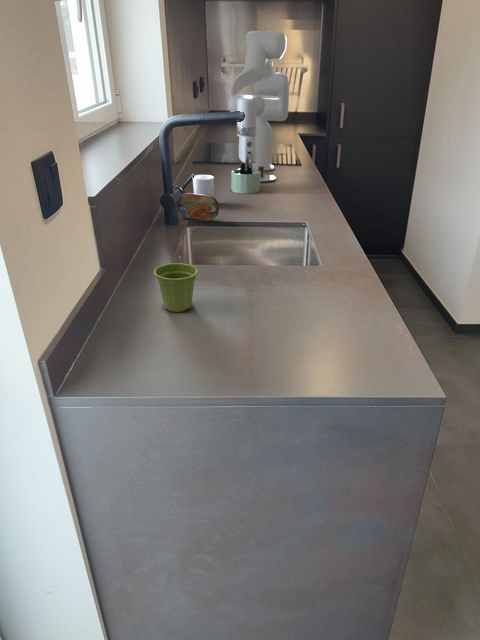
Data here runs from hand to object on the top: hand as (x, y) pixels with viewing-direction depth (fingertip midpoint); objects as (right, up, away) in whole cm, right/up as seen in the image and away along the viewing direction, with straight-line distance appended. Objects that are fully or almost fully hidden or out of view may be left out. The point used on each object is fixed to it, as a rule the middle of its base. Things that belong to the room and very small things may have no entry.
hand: (245, 178), depth 206 cm
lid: (+6, +7, +21) cm, 23 cm away
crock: (0, -4, +2) cm, 5 cm away
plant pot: (-12, -62, -93) cm, 112 cm away
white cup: (-15, -16, -18) cm, 29 cm away
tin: (-15, -26, -34) cm, 46 cm away
